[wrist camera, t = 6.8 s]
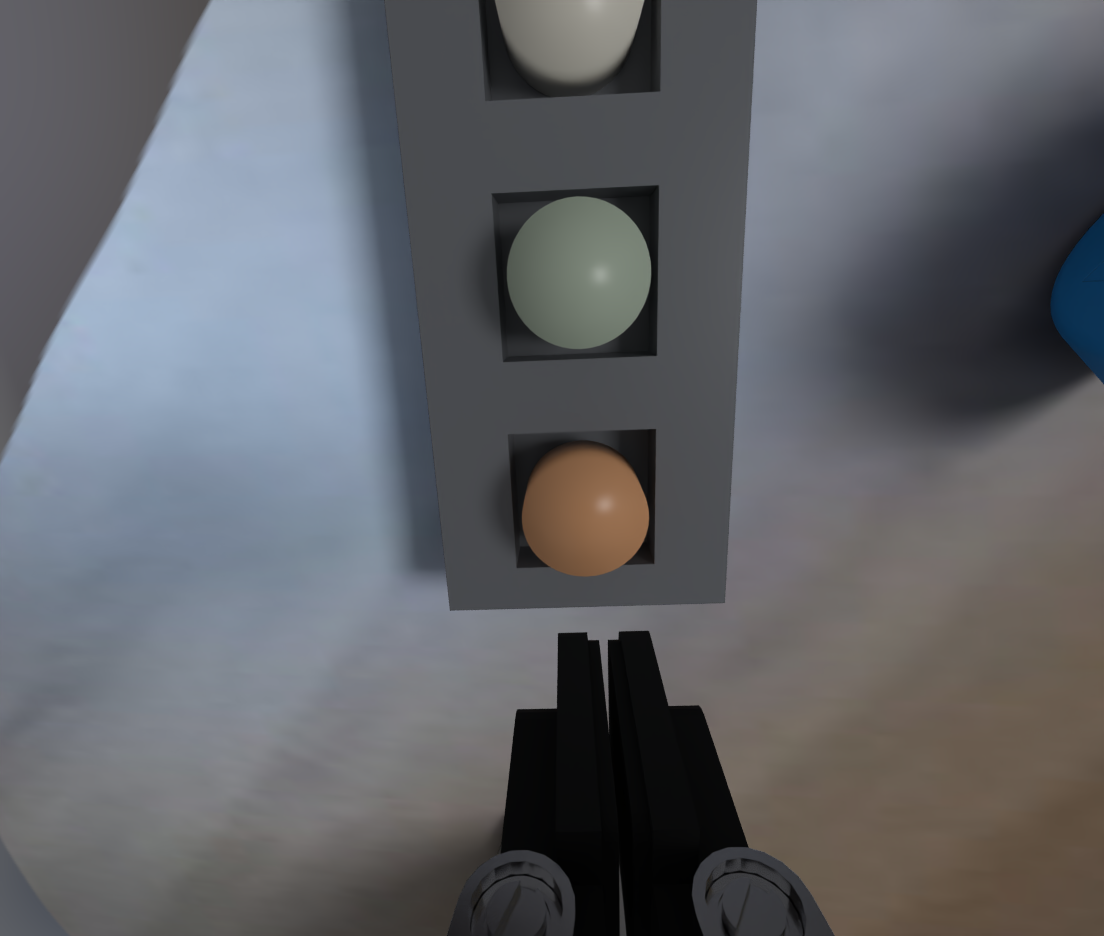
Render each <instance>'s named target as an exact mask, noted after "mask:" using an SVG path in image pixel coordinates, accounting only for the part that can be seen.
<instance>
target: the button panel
mask: <svg viewBox="0 0 1104 936" xmlns="http://www.w3.org/2000/svg"><path fill="white" fill-rule="evenodd" d="M384 2H385V11H386V21H387V30H388V39H389V49H390V58H391V67H392V76H393V86H394V95H395V104H396V114H397V123H398V132H399V141H400V151H401V160H402V169H403V179H404V188H405V197H406V206H407V216H408V225H409V234H410V244H411V253H412V262H413V271H414V281H415V290H416V299H417V309H418V318H419V327H420V336H421V346H422V355H423V364H424V374H425V383H426V392H427V401H428V411H429V420H430V429H431V438H432V448H433V457H434V466H435V476H436V485H437V494H438V503H439V513H440V522H441V531H442V541H443V550H444V559H445V568H446V578H447V587H448V596H449V606H450V611H451V610H488V609H525V608H561V607H598V606H634V605H671V604H708V603H725V590H726V571H727V552H728V534H729V515H730V496H731V478H732V459H733V440H734V422H735V403H736V384H737V366H738V347H739V328H740V310H741V291H742V272H743V254H744V235H745V217H746V198H747V179H748V161H749V142H750V123H751V105H752V86H753V67H754V49H755V30H756V11H757V0H644V4H643V7H642V11H641V15H640V18H639V22H638V26H637V29H636V33H635V37H634V40H633V44H632V47H631V50H630V53H629V55H628V58H627V60H626V61H625V63H624V65H623V67H622V68H621V70H620V71H619V73H618V74H617V75H616V76H615V77H614V78H613V80H612V81H611V82H610V83H608V84H607V85H606V86H605V87H604V88H602V89H600V90H599V91H597V92H596V93H593V94H591V95H588V96H570V97H550V96H547V95H544V94H542V93H540V92H538V91H537V90H536V89H534V88H533V87H531V86H530V85H529V84H528V83H527V82H526V81H525V80H524V79H523V78H522V77H521V76H520V75H519V73H518V72H517V70H516V69H515V67H514V66H513V64H512V62H511V60H510V58H509V56H508V53H507V50H506V47H505V43H504V38H503V34H502V30H501V25H500V21H499V16H498V12H497V8H496V3H495V0H384ZM576 196H580V197H592V198H597V199H600V200H603V201H606V202H608V203H610V204H612V205H614V206H616V207H617V208H619V209H620V210H622V211H623V212H624V213H625V214H626V215H627V216H629V217H630V218H631V220H632V221H633V222H634V223H635V224H636V226H637V227H638V229H639V230H640V232H641V233H642V236H643V238H644V240H645V242H646V245H647V248H648V251H649V256H650V261H651V282H650V288H649V292H648V295H647V298H646V302H645V304H644V306H643V308H642V310H641V312H640V313H639V315H638V316H637V318H636V319H635V321H634V322H633V323H632V324H631V325H630V326H629V327H628V328H627V329H626V330H625V331H624V332H623V333H622V334H620V335H619V336H618V337H616V338H615V339H613V340H611V341H609V342H607V343H605V344H602V345H600V346H596V347H592V348H586V349H570V348H564V347H560V346H557V345H553V344H551V343H549V342H547V341H545V340H543V339H542V338H540V337H538V336H537V335H536V334H535V333H533V332H532V331H531V330H530V329H529V328H528V327H527V326H526V325H525V324H524V322H523V321H522V320H521V318H520V317H519V315H518V314H517V312H516V310H515V308H514V306H513V303H512V301H511V298H510V294H509V290H508V284H507V264H508V258H509V254H510V250H511V247H512V244H513V242H514V239H515V238H516V236H517V234H518V232H519V230H520V229H521V228H522V226H523V225H524V224H525V222H526V221H527V220H528V219H529V218H530V217H531V216H532V215H533V214H534V213H536V212H537V211H538V210H539V209H541V208H543V207H544V206H546V205H548V204H550V203H552V202H554V201H557V200H560V199H564V198H568V197H576ZM579 440H589V441H595V442H599V443H603V444H605V445H608V446H610V447H612V448H613V449H615V450H617V451H618V452H619V453H621V454H622V455H623V456H624V457H625V458H626V459H627V460H628V462H629V463H630V464H631V466H632V467H633V469H634V471H635V473H636V476H637V478H638V480H639V483H640V485H641V488H642V490H643V493H644V495H645V498H646V501H647V504H648V509H649V525H648V529H647V533H646V536H645V539H644V541H643V543H642V545H641V547H640V548H639V549H638V551H637V552H636V553H635V555H634V556H633V557H632V558H631V559H630V560H628V561H627V562H626V563H625V564H623V565H622V566H620V567H619V568H617V569H615V570H613V571H611V572H608V573H605V574H601V575H597V576H588V577H585V576H573V575H569V574H565V573H562V572H559V571H557V570H555V569H553V568H551V567H550V566H548V565H547V564H545V563H544V562H543V561H542V560H540V559H539V558H538V557H537V556H536V554H535V553H534V552H533V551H532V549H531V547H530V546H529V544H528V542H527V540H526V537H525V534H524V531H523V525H522V511H523V505H524V499H525V494H526V489H527V484H528V480H529V477H530V474H531V472H532V470H533V468H534V467H535V465H536V464H537V462H538V461H539V460H540V459H541V458H542V457H543V456H544V455H545V454H546V453H547V452H549V451H550V450H552V449H553V448H555V447H557V446H559V445H562V444H564V443H567V442H572V441H579Z"/></svg>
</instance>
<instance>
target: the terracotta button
mask: <svg viewBox="0 0 1104 936" xmlns="http://www.w3.org/2000/svg"><path fill="white" fill-rule="evenodd" d="M522 525H523V531H524V534H525V537H526V540H527V542H528V544H529V546H530V547H531V549H532V551H533V552H534V553H535V554H536V556H537V557H538V558H539V559H540V560H542V561H543V562H544V563H545V564H547V565H548V566H550V567H551V568H553V569H555V570H557V571H559V572H562V573H565V574H569V575H573V576H585V577H588V576H597V575H601V574H605V573H608V572H611V571H613V570H615V569H617V568H619V567H620V566H622V565H623V564H625V563H626V562H627V561H628V560H630V559H631V558H632V557H633V556H634V555H635V553H636V552H637V551H638V549H639V548H640V547H641V545H642V543H643V541H644V539H645V536H646V533H647V529H648V525H649V509H648V504H647V501H646V498H645V495H644V493H643V490H642V488H641V485H640V483H639V480H638V478H637V476H636V473H635V471H634V469H633V467H632V466H631V464H630V463H629V462H628V460H627V459H626V458H625V457H624V456H623V455H622V454H621V453H619V452H618V451H617V450H615V449H613V448H612V447H610V446H608V445H605V444H603V443H599V442H595V441H589V440H579V441H572V442H567V443H564V444H562V445H559V446H557V447H555V448H553V449H552V450H550V451H549V452H547V453H546V454H545V455H544V456H543V457H542V458H541V459H540V460H539V461H538V462H537V464H536V465H535V467H534V468H533V470H532V472H531V474H530V477H529V480H528V484H527V489H526V494H525V499H524V505H523V511H522Z"/></svg>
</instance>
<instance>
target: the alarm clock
mask: <svg viewBox="0 0 1104 936" xmlns="http://www.w3.org/2000/svg"><path fill="white" fill-rule="evenodd" d="M1050 307H1051V316H1052V319H1053V322H1054V325H1055V327H1056V329H1057V330H1058V332H1059V333H1060V335H1061V337H1062V338H1063V339H1064V340H1065V341H1066V342H1067V343H1068V344H1069V346H1070V347H1071V348H1072V349H1073V350H1074V351H1075V352H1076V353H1077V355H1078V356H1079V357H1080V358H1081V359H1082V360H1083V361H1084V362H1085V364H1086V365H1087V366H1088V367H1089V368H1090V369H1091V370H1092V371H1093V373H1094V374H1095V375H1096V376H1097V377H1098V378H1099V379H1100V380H1101V382H1102V383H1103V384H1104V213H1103V214H1102V215H1101V217H1100V218H1099V219H1098V220H1097V221H1096V222H1095V223H1094V224H1093V225H1092V226H1091V227H1090V228H1089V230H1088V231H1087V232H1086V233H1085V234H1084V236H1083V237H1082V238H1081V239H1080V240H1079V242H1078V243H1077V244H1076V246H1075V247H1074V248H1073V250H1072V251H1071V253H1070V254H1069V255H1068V257H1067V259H1066V260H1065V262H1064V264H1063V265H1062V267H1061V269H1060V271H1059V273H1058V276H1057V278H1056V280H1055V284H1054V287H1053V290H1052V296H1051V303H1050Z"/></svg>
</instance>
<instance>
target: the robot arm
mask: <svg viewBox="0 0 1104 936" xmlns="http://www.w3.org/2000/svg"><path fill="white" fill-rule="evenodd" d="M608 690H609V730H608V721H607V711H606V702H605V692H604V683H603V673H602V664H601V654H600V645H599V640H588V638H587V632H583V633H558V678H557V709H517V712H516V718H515V726H514V735H513V744H512V753H511V762H510V771H509V780H508V789H507V798H506V807H505V816H504V825H503V834H502V842H501V846H500V849H499V853H498V855H496V856H494V857H492V858H491V859H489V860H488V861H486V862H485V863H483V864H482V865H480V866H479V867H478V868H477V869H476V871H475V872H474V873H473V874H472V875H471V876H470V878H469V879H468V880H467V881H466V884H465V886H464V888H463V890H462V892H461V894H460V896H459V898H458V902H457V905H456V908H455V911H454V914H453V917H452V921H451V924H450V927H449V930H448V933H447V936H835V935H834V934H833V932H832V930H831V928H830V927H829V925H828V923H827V921H826V919H825V918H824V916H823V914H822V912H821V911H820V909H819V907H818V905H817V903H816V902H815V900H814V898H813V896H812V895H811V893H810V892H809V890H808V889H807V888H806V886H805V885H804V883H803V882H802V881H801V879H800V878H799V877H798V876H797V875H796V874H795V873H794V872H793V871H792V870H791V869H789V868H788V867H787V866H786V865H785V864H784V863H783V862H781V861H779V860H777V859H776V858H774V857H772V856H770V855H768V854H766V853H765V852H762V851H758V850H754V849H751V848H749V847H748V844H747V841H746V838H745V835H744V832H743V829H742V827H741V824H740V821H739V818H738V815H737V812H736V809H735V806H734V803H733V800H732V797H731V794H730V791H729V788H728V785H727V782H726V779H725V776H724V773H723V770H722V767H721V764H720V761H719V758H718V755H717V752H716V749H715V746H714V743H713V740H712V737H711V734H710V731H709V728H708V725H707V722H706V719H705V716H704V714H703V711H702V709H701V708H700V706H699V705H698V706H668V702H667V699H666V695H665V691H664V687H663V683H662V679H661V675H660V671H659V667H658V663H657V660H656V656H655V652H654V648H653V644H652V640H651V636H650V633H649V631H622V632H619V640H608Z"/></svg>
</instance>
